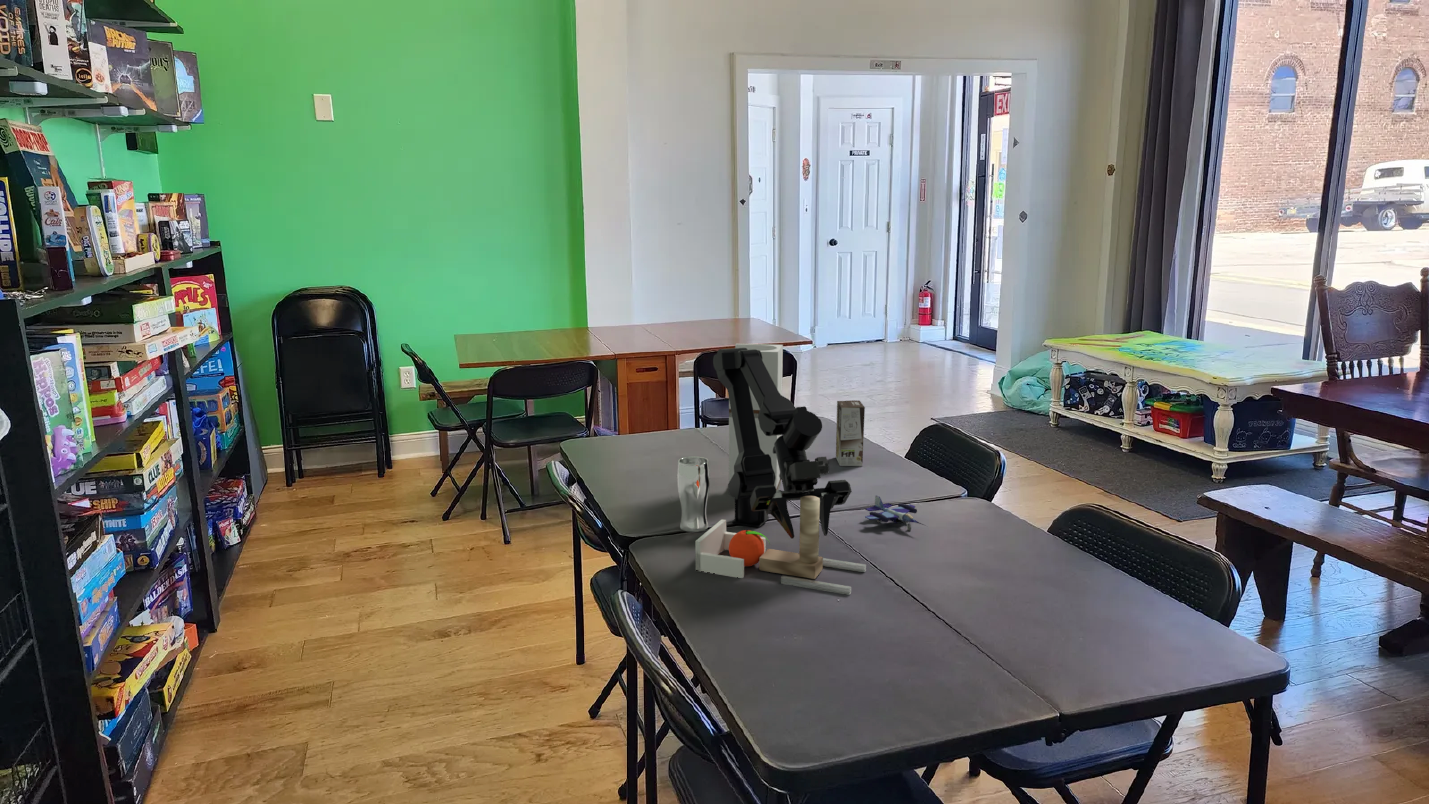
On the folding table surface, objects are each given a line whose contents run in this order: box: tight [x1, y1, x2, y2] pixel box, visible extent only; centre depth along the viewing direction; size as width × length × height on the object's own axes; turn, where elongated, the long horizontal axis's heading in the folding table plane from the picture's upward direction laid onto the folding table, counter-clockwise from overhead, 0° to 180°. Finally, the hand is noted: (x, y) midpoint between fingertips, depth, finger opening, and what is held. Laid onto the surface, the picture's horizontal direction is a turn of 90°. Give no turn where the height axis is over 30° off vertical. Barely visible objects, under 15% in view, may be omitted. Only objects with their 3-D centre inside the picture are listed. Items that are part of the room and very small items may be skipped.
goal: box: [694, 518, 767, 579], centre depth 178 cm, size 10×13×6 cm
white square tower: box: [728, 343, 784, 490], centre depth 220 cm, size 11×11×35 cm
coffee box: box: [835, 399, 866, 467], centre depth 245 cm, size 9×6×16 cm
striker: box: [758, 496, 824, 580], centre depth 172 cm, size 11×5×15 cm, turn 67°
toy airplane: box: [864, 495, 927, 532], centre depth 199 cm, size 13×14×4 cm
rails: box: [780, 557, 867, 596], centre depth 171 cm, size 13×12×1 cm
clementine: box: [728, 529, 771, 567], centre depth 177 cm, size 8×7×7 cm
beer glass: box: [676, 456, 711, 533], centre depth 196 cm, size 7×7×15 cm
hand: (809, 536), depth 170 cm, fingers open, 6 cm apart
